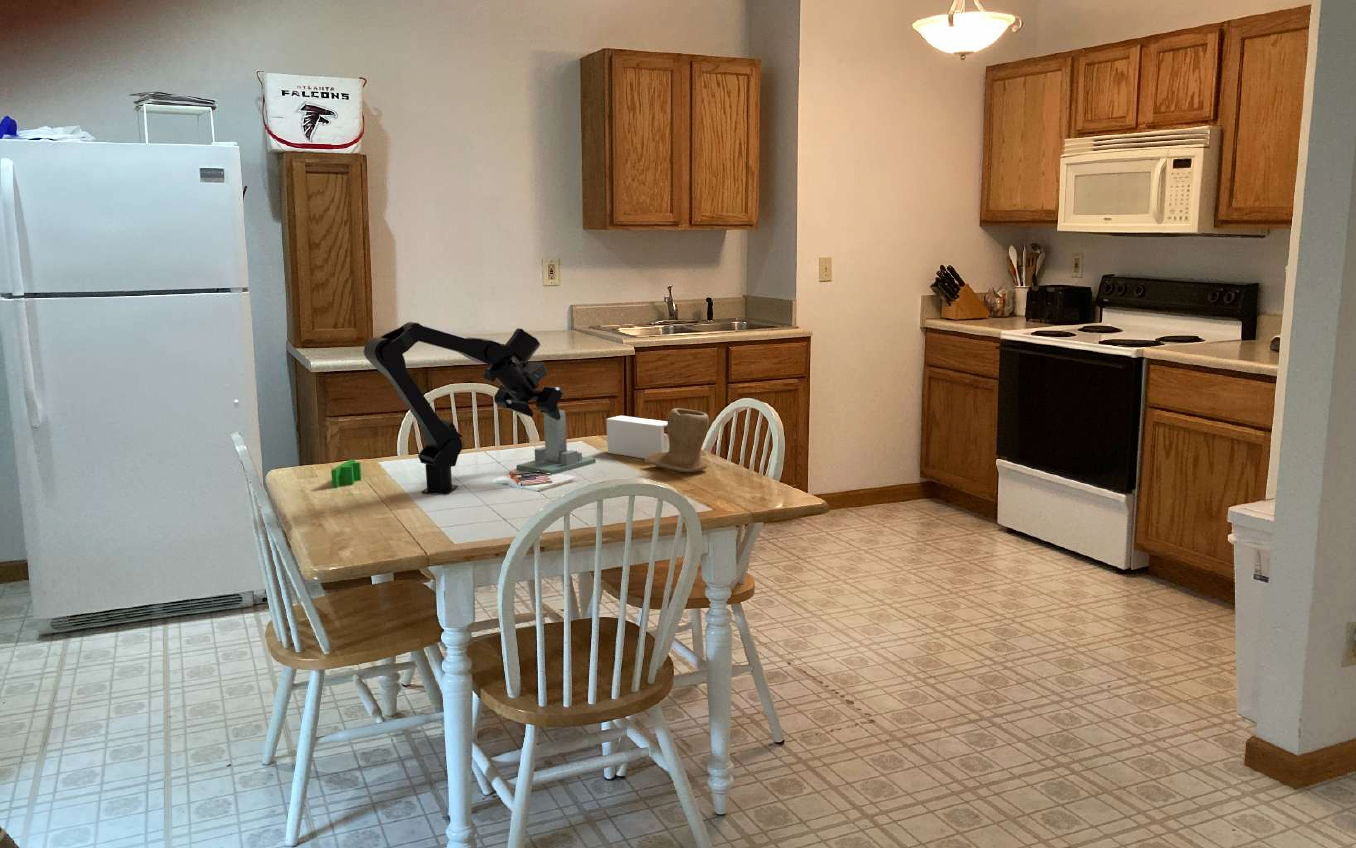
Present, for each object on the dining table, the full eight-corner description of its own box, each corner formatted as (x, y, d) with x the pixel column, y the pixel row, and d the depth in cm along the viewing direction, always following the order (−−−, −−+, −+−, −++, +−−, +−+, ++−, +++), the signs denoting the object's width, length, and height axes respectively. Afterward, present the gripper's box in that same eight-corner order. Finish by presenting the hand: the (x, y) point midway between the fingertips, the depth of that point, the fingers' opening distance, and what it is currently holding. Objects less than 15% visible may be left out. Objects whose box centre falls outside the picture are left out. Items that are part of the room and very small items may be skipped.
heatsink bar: (559, 464, 271) (556, 412, 269) (544, 462, 274) (542, 411, 272) (568, 461, 274) (566, 410, 272) (554, 459, 277) (551, 408, 275)
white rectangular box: (675, 458, 280) (674, 422, 279) (661, 462, 276) (660, 425, 274) (618, 449, 293) (617, 415, 291) (604, 453, 289) (602, 418, 287)
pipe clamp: (348, 488, 256) (346, 469, 255) (332, 488, 257) (331, 469, 256) (366, 477, 267) (365, 459, 266) (352, 477, 268) (350, 459, 267)
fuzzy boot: (720, 470, 266) (719, 409, 263) (682, 478, 258) (680, 415, 255) (680, 460, 277) (679, 402, 274) (643, 468, 270) (641, 408, 267)
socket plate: (551, 474, 265) (550, 458, 264) (516, 469, 272) (515, 453, 271) (595, 462, 277) (595, 447, 276) (561, 457, 284) (560, 442, 283)
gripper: (555, 353, 257) (588, 394, 268) (500, 349, 268) (534, 388, 279) (533, 391, 252) (567, 430, 263) (478, 385, 263) (513, 423, 274)
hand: (545, 417), depth 270 cm, fingers open, 9 cm apart
